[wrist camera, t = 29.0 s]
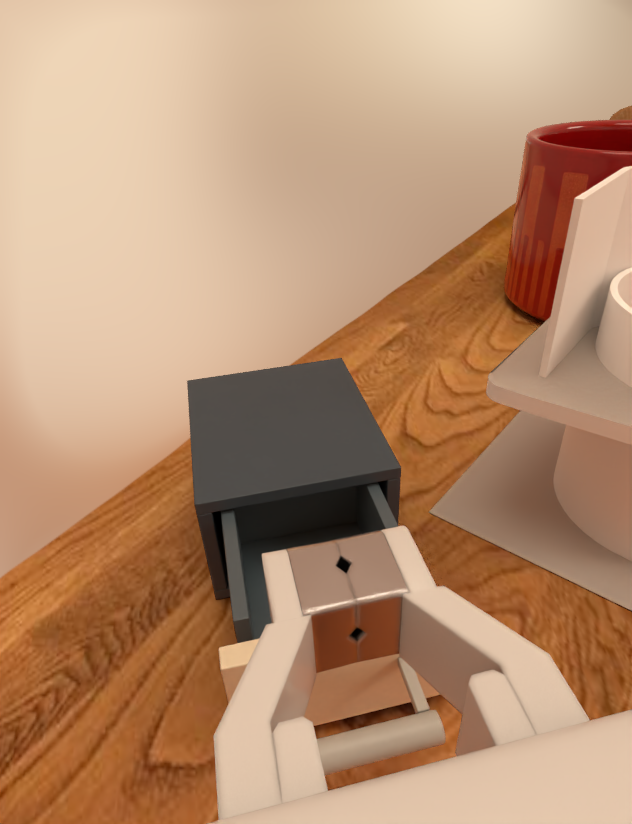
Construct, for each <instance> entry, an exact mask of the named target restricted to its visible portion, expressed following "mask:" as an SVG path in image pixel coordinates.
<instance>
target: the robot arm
mask: <svg viewBox="0 0 632 824" xmlns="http://www.w3.org/2000/svg"><path fill="white" fill-rule="evenodd" d="M262 562H263V569H264V576H265V582H266V589H267V596H268V602H269V609H270V615H271V621H272V623H271V624H267V625H266V626H265V628H264V630H263V632H262V635H261V637H260V639H259V641H258V643H257V645H256V647H255V649H254V652H253V654H252V656H251V658H250V660H249V662H248V664H247V666H246V668H245V671H244V673H243V675H242V677H241V679H240V681H239V683H238V685H237V687H236V690H235V692H234V694H233V696H232V698H231V700H230V702H229V704H228V706H227V709H226V711H225V713H224V715H223V717H222V719H221V721H220V723H219V726H218V728H217V730H216V732H215V734H214V750H215V767H216V783H217V800H218V817H219V820H218V821H215V822H211V823H207V824H632V709H631V710H628V711H624V712H620V713H617V714H613V715H609V716H605V717H602V718H598V719H594V720H590V719H589V718H588V716H587V714H586V713H585V711H584V710H583V708H582V706H581V705H580V703H579V702H578V700H577V698H576V697H575V695H574V693H573V692H572V690H571V689H570V687H569V685H568V684H567V682H566V680H565V679H564V677H563V676H562V674H561V672H560V671H559V669H558V668H557V666H556V664H555V663H554V661H553V659H552V658H551V656H550V655H549V654H548V653H547V652H545V651H544V650H542V649H541V648H539V647H537V646H536V645H534V644H533V643H531V642H530V641H528V640H527V639H525V638H524V637H522V636H521V635H519V634H517V633H516V632H514V631H513V630H511V629H510V628H508V627H507V626H505V625H504V624H502V623H501V622H499V621H497V620H496V619H494V618H493V617H491V616H490V615H488V614H487V613H485V612H484V611H482V610H481V609H479V608H478V607H476V606H474V605H473V604H471V603H470V602H468V601H467V600H465V599H464V598H462V597H461V596H459V595H458V594H456V593H454V592H453V591H451V590H450V589H448V588H447V587H445V586H439V587H437V586H436V584H435V582H434V580H433V578H432V576H431V574H430V572H429V570H428V568H427V566H426V564H425V562H424V560H423V558H422V556H421V554H420V552H419V550H418V548H417V546H416V544H415V542H414V540H413V538H412V536H411V534H410V532H409V530H408V528H407V527H405V526H404V525H403V526H399V527H394V528H389V529H384V530H381V531H379V530H378V531H373V532H368V533H364V534H359V535H354V536H350V537H345V538H340V539H336V540H334V541H328V542H323V543H317V544H311V545H305V546H300V547H294V548H288V549H287V550H286V549H284V550H279V551H273V552H268V553H262ZM395 654H399V656H400V657H401V658H402V659H403V660H404V661H405V662H406V663H407V664H408V665H409V666H411V667H412V668H413V669H414V670H415V671H416V672H417V673H418V674H419V675H420V676H421V677H422V678H424V679H425V680H426V681H427V682H428V683H429V684H430V685H431V686H432V687H433V688H434V689H435V690H437V691H438V692H439V693H440V694H441V695H442V696H443V697H444V698H445V699H446V700H447V701H448V702H449V703H451V704H452V705H453V706H454V707H455V708H456V709H457V710H458V711H459V712H460V713H461V714H462V720H461V725H460V730H459V736H458V741H457V746H456V751H455V753H456V757H452V758H449V759H445V760H441V761H438V762H434V763H430V764H426V765H423V766H419V767H415V768H412V769H408V770H404V771H400V772H397V773H393V774H389V775H386V776H382V777H378V778H374V779H371V780H367V781H363V782H359V783H356V784H352V785H348V786H345V787H341V788H337V789H333V790H330V791H328V789H327V784H326V780H325V775H324V771H323V766H322V762H321V757H320V753H319V748H318V744H317V739H316V735H315V730H314V726H313V722H312V721H310V720H308V719H306V718H305V717H304V715H305V712H306V709H307V706H308V702H309V699H310V696H311V693H312V690H313V686H314V683H315V680H316V677H317V674H316V673H319V672H323V671H327V670H330V669H334V668H338V667H342V666H345V665H349V664H353V663H357V662H362V661H366V660H371V659H376V658H381V657H386V656H391V655H395Z"/></svg>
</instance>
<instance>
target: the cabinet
mask: <svg viewBox="0 0 632 824" xmlns="http://www.w3.org/2000/svg"><path fill="white" fill-rule="evenodd" d="M187 382H188V383H187V384H188V400H189V417H190V434H191V453H192V470H193V487H194V504H195V509H196V513H197V518H198V522H199V526H200V531H201V535H202V540H203V544H204V548H205V553H206V557H207V562H208V566H209V570H210V575H211V579H212V584H213V588H214V593H215V597H216V600H218V599H223V598H228V597H230V590H229V581H228V572H227V563H226V554H225V545H224V536H223V527H222V519H221V511H222V510H228V509H233V508H239V507H244V506H250V505H255V504H260V503H266V502H271V501H277V500H282V499H288V498H293V497H298V496H304V495H309V494H315V493H320V492H326V491H331V490H336V489H342V488H347V487H353V486H358V485H364V484H369V483H374V482H378V484H379V486H380V488H381V491H382V493H383V495H384V497H385V499H386V501H387V503H388V505H389V507H390V510H391V512H392V514H393V516H394V518H395V520H396V522H397V524H398V514H399V495H400V476H401V466H400V465H399V463H398V461H397V459H396V457H395V455H394V454H393V452H392V450H391V448H390V446H389V444H388V443H387V441H386V439H385V437H384V435H383V433H382V432H381V430H380V428H379V426H378V424H377V422H376V421H375V419H374V417H373V415H372V413H371V411H370V409H369V408H368V406H367V404H366V402H365V400H364V398H363V397H362V395H361V393H360V391H359V389H358V387H357V386H356V384H355V382H354V380H353V378H352V376H351V375H350V373H349V371H348V369H347V367H346V365H345V364H344V362H343V360H342V358H338V359H331V360H324V361H318V362H311V363H304V364H297V365H291V366H284V367H277V368H270V369H263V370H258V371H250V372H243V373H237V374H230V375H223V376H216V377H209V378H202V379H196V380H189V381H187Z"/></svg>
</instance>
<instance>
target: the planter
mask: <svg viewBox="0 0 632 824" xmlns="http://www.w3.org/2000/svg"><path fill="white" fill-rule="evenodd" d="M629 166H632V120H598V121H597V120H596V121H581V122H570V123H561V124H555V125H549V126H544V127H541V128H537V129H535V130H533V131H531V132H530V133H528V134H527V137H526V143H525V149H524V156H523V162H522V169H521V175H520V181H519V188H518V194H517V201H516V207H515V214H514V220H513V227H512V234H511V240H510V247H509V254H508V261H507V268H506V275H505V282H504V290H505V293H506V296H507V297H508V298H509V300H510V301H511V302H512V303H513V304H514V305H516V306H517V307H518V308H519V309H520V310H522V311H524V312H525V313H527V314H529V315H531V316H533V317H535V318H537V319H539V320H541V321H544V322H545V321H546V320H547V319H548V318H550V317H551V312H552V307H553V302H554V297H555V292H556V287H557V282H558V277H559V272H560V268H561V263H562V258H563V253H564V248H565V243H566V238H567V233H568V228H569V223H570V218H571V213H572V208H573V203H574V198H576V197H577V196H579V195H581V194H582V193H584V192H585V191H587V190H589V189H590V188H592V187H593V186H595V185H596V184H598V183H600V182H601V181H603V180H604V179H606V178H608V177H609V176H611V175H612V174H614V173H615V172H617V171H619V170H620V169H622V168H623V167H629Z"/></svg>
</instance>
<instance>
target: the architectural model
mask: <svg viewBox="0 0 632 824" xmlns="http://www.w3.org/2000/svg"><path fill="white" fill-rule="evenodd" d="M486 394H487V396H488V397H489V398H490V399H491V400H493V401H495V402H497V403H500V404H503V405H506V406H509V407H512V408H515V409H518V410H521V411H520V412H519V413H518V414H517V415H516V416H515V417H514V418H513V419H512V421H511V422H510V423H509V424H508V425H507V426H506V427H505V428H504V429H503V431H502V432H501V433H500V434H499V435H498V436H497V437H496V438H495V439H494V440H493V442H492V443H491V444H490V445H489V446H488V447H487V448H486V449H485V450H484V452H483V453H482V454H481V455H480V456H479V457H478V458H477V459H476V460H475V461H474V463H473V464H472V465H471V466H470V467H469V468H468V469H467V470H466V471H465V473H464V474H463V475H462V476H461V477H460V478H459V479H458V480H457V481H456V483H455V484H454V485H453V486H452V487H451V488H450V489H449V490H448V491H447V492H446V494H445V495H444V496H443V497H442V498H441V499H440V500H439V501H438V502H437V504H436V505H435V506H434V507H433V508H432V509H431V510H430V511H429V513H431V514H433V515H435V516H437V517H439V518H441V519H444V520H446V521H448V522H450V523H452V524H454V525H456V526H458V527H460V528H462V529H464V530H466V531H468V532H470V533H472V534H474V535H477V536H479V537H481V538H483V539H485V540H487V541H489V542H491V543H493V544H495V545H497V546H499V547H501V548H503V549H505V550H507V551H510V552H512V553H514V554H516V555H518V556H520V557H522V558H524V559H526V560H528V561H530V562H532V563H534V564H536V565H538V566H540V567H543V568H545V569H547V570H549V571H551V572H553V573H555V574H557V575H559V576H561V577H563V578H565V579H567V580H569V581H571V582H573V583H576V584H578V585H580V586H582V587H584V588H586V589H588V590H590V591H592V592H594V593H596V594H598V595H600V596H602V597H604V598H606V599H609V600H611V601H613V602H615V603H617V604H619V605H621V606H623V607H625V608H627V609H629V610H631V611H632V166H629V167H623V168H622V169H620V170H619V171H617V172H615V173H614V174H612V175H611V176H609V177H608V178H606V179H604V180H603V181H601V182H600V183H598V184H596V185H595V186H593V187H592V188H590V189H589V190H587V191H585V192H584V193H582V194H581V195H579V196H577V197H576V198H574V203H573V208H572V213H571V218H570V223H569V228H568V233H567V238H566V243H565V248H564V253H563V258H562V263H561V268H560V272H559V277H558V282H557V287H556V292H555V297H554V302H553V307H552V312H551V317H550V318H548V319H547V320H546V321H545V322H544V323H543V324H542V325H541V326H540V327H539V328H538V329H537V330H536V331H534V332H533V333H532V334H531V335H530V336H529V337H528V338H527V339H526V340H525V341H524V342H523V343H522V344H521V345H519V346H518V347H517V348H516V349H515V350H514V351H513V352H512V353H511V354H510V355H509V356H508V357H507V358H505V359H504V360H503V361H502V362H501V363H500V364H499V365H498V366H497V367H496V368H495V369H494V370H493V371H491V372H490V374H489V375H488V382H487V389H486Z"/></svg>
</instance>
